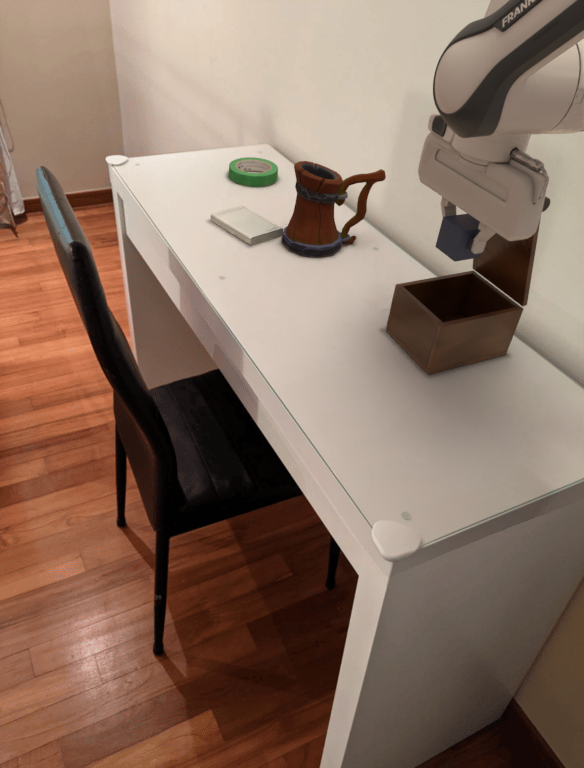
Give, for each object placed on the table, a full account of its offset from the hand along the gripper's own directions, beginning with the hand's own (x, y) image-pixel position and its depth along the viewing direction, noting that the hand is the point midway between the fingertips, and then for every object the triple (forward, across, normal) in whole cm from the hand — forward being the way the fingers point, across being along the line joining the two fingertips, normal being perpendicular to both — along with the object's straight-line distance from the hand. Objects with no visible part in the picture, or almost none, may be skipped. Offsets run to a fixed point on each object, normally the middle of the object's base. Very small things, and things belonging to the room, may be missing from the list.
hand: (460, 241), depth 82 cm
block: (+2, 0, 0) cm, 2 cm away
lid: (+1, 0, -8) cm, 8 cm away
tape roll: (+18, +69, +1) cm, 71 cm away
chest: (+17, 0, -3) cm, 18 cm away
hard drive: (+18, +45, +12) cm, 50 cm away
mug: (+18, +35, 0) cm, 39 cm away
